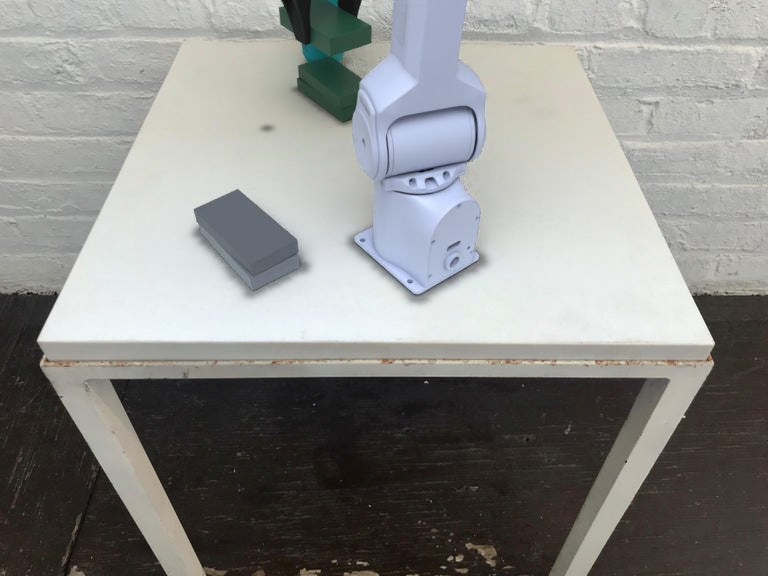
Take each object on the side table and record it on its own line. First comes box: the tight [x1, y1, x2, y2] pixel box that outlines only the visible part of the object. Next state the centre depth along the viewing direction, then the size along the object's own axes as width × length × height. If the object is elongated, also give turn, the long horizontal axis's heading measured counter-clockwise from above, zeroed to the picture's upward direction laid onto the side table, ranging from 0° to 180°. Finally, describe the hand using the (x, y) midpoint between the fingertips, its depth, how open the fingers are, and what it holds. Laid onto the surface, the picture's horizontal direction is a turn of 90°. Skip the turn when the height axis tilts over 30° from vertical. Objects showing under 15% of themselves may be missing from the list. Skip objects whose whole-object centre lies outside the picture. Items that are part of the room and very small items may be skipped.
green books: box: [296, 56, 363, 123], centre depth 77 cm, size 10×5×3 cm, turn 39°
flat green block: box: [278, 0, 373, 57], centre depth 69 cm, size 10×6×2 cm, turn 39°
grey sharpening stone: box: [193, 188, 301, 292], centre depth 58 cm, size 10×5×3 cm, turn 39°
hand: (325, 34), depth 70 cm, fingers closed on flat green block, 5 cm apart
